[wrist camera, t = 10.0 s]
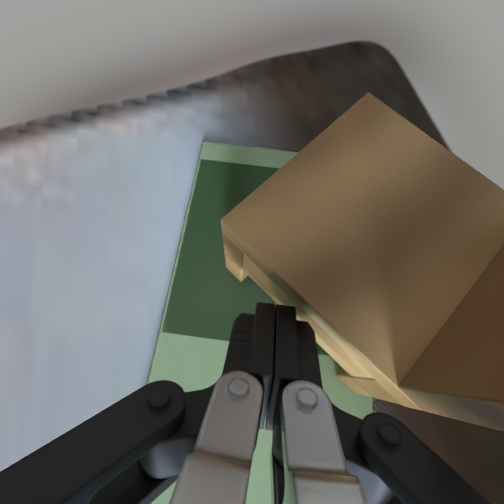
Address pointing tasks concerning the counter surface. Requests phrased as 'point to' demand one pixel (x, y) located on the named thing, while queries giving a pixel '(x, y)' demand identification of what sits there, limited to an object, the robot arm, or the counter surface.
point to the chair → (386, 262)
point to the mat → (224, 296)
